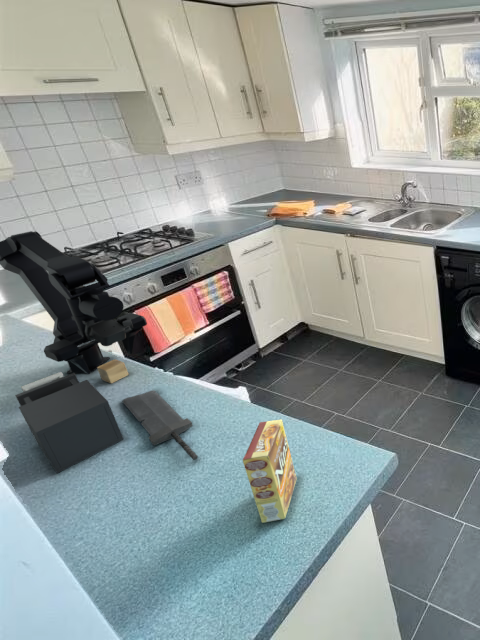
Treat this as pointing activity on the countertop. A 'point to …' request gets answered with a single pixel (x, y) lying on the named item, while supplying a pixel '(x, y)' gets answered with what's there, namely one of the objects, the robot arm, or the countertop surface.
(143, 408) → the grey flat handled slab
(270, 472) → the candy box
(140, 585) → the countertop surface
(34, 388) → the dark grey drawer
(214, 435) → the countertop surface
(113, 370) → the block
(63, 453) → the dark grey drawer box
